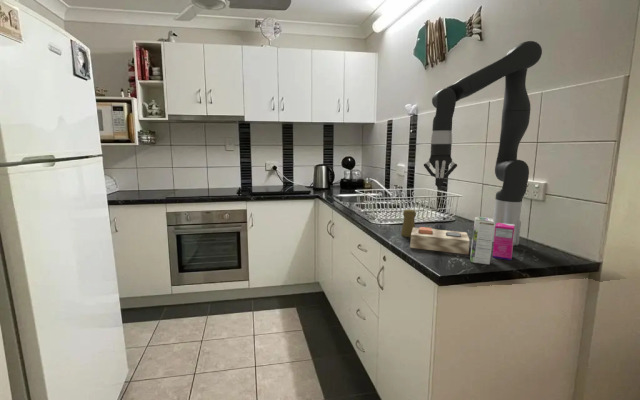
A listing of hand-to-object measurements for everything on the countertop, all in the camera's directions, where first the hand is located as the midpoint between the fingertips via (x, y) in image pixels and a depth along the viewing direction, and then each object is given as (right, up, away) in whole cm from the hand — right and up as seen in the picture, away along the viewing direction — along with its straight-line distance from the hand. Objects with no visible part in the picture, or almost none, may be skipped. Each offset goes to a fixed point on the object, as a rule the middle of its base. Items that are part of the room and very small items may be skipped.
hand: (438, 187), depth 130 cm
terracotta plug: (-7, -21, -3) cm, 22 cm away
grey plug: (+3, -23, -6) cm, 24 cm away
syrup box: (+6, -26, -20) cm, 33 cm away
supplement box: (+17, -25, -15) cm, 34 cm away
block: (-2, -23, -5) cm, 23 cm away
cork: (-10, -20, +10) cm, 24 cm away
